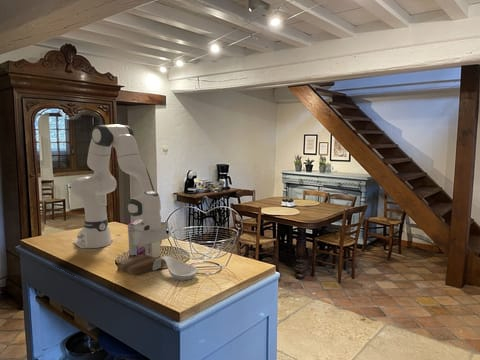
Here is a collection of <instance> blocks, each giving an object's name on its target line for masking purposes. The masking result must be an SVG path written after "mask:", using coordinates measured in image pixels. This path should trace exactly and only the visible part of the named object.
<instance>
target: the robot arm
mask: <svg viewBox="0 0 480 360" xmlns="http://www.w3.org/2000/svg"><path fill="white" fill-rule="evenodd" d="M112 147H113V148H114V149H115V152H116V157H117V158H116V160H117V163H118V167H119V169H120V170H121V171H122V172H124V173H125V174H126V175H127V174H128V175H130V176H133V177H135V178H136V179H137V180H138V182H139V185H140V188H141V191H142V194H140V195H138V196H135V197H132V198H130V199H128V200H127V203H126V210H127V213H128V214H129V215H130V216H132V217H139V216H141V217H142V220H143V221H141V222H140V223H138V224H137V225H135V226H134V229H135V230H136V231H135V232H134V244H135V246H138V247H140V246H144V248H145V251H144V252H145V254H146V253H149V252H150V249H148V247H147V246H148V244H150V243H153V242H157V241H160V246H162V243H163V240H167V239H169V238H170V236H171V232H170V227H169V222H168V220H163V221H162V216H161V210H162V208H161V207H162V205H161V197H160V194H159V193H158V192H156V191H155V189H154V185H153V183H152V179H151V176H150V173H149V170H148V169H147V167H146V166H145V165H144V164H143V161H142V157H141V155H140V150H139V146H138V143H137V141H136V138H135V137H134V131H133V129H132V127H130V126H129V125H126V124H116V123H115V124H114V123H112V124H99V125H95V127H93V129H92V131H91V140H90V144H89V146H88V153H87V160H86V164H87V167H88V168H89V169H91V171H93V175H88V176H81V177H78V178H74V179H73V180H72V182H71V183H70V190H71V193H72V194H73V195H74V196H75V197H76V198H78V199H79V200H80V201H81V203H82V205H83V207H84V215H85V217H84V218H85V219H84V221H83V227H82V228H81V229H80V231H78V233H77V235H76V237H77V238H76V240H73V244H74V245H75V246H77V247H79V248H80V249H97V248H103V247H107V246H110V245H111V244H112V242H113V241H114V240H113V238H112V237H111V230H110V227H109V224H108V223H109V221H108V220H109V219H108V217H107V216H108V215H107V205H106V204H105V203H103V202H101V201H99V198H98V196H102V195H107V194H109V193H112V192H114V191H115V190H116V189H117V185H118V183H117V179H116V178H115V177H114V176H113V174H111V172H110V160H111V153H112ZM166 226H167V228H166ZM166 229H168V230H169V234H167V233H166Z"/></svg>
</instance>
